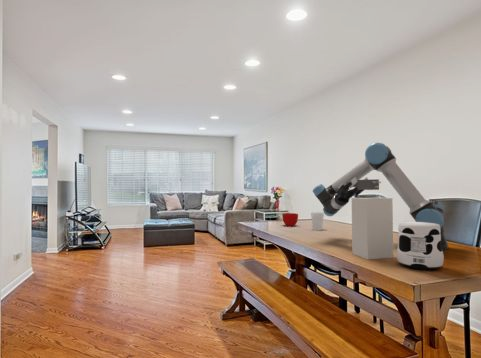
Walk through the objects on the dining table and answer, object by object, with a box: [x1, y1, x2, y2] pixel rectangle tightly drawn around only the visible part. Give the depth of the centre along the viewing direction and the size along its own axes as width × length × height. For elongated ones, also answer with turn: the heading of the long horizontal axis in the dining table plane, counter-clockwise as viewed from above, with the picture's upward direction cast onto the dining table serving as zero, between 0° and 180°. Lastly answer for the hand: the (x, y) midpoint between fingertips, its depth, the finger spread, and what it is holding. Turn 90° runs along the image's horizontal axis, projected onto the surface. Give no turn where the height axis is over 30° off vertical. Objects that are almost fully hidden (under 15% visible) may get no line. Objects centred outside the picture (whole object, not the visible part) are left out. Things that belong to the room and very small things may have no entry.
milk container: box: [395, 221, 445, 270], centre depth 132 cm, size 17×17×18 cm
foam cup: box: [310, 211, 325, 231], centre depth 236 cm, size 10×9×13 cm
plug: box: [347, 179, 382, 191], centre depth 158 cm, size 19×6×5 cm, turn 25°
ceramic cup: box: [281, 212, 299, 227], centre depth 260 cm, size 13×17×10 cm
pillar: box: [351, 196, 394, 260], centre depth 152 cm, size 12×14×28 cm
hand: (361, 179), depth 159 cm, fingers closed on plug, 6 cm apart
